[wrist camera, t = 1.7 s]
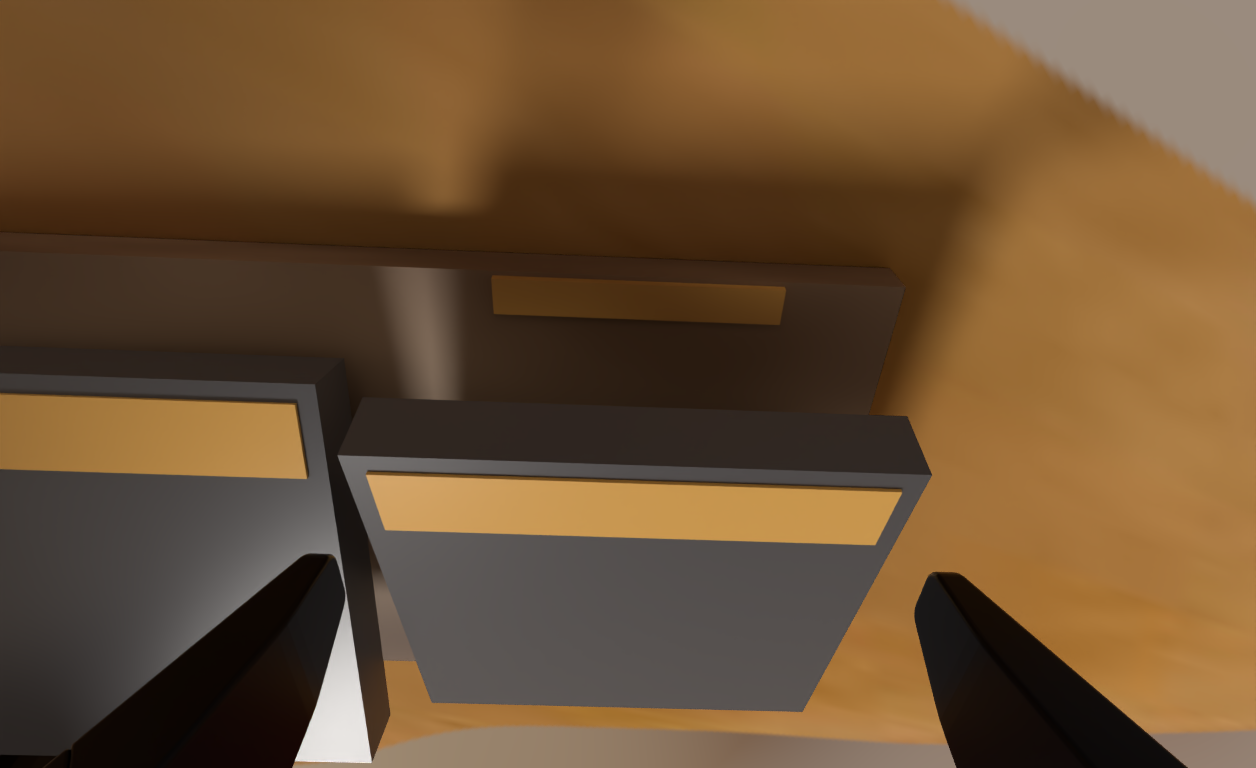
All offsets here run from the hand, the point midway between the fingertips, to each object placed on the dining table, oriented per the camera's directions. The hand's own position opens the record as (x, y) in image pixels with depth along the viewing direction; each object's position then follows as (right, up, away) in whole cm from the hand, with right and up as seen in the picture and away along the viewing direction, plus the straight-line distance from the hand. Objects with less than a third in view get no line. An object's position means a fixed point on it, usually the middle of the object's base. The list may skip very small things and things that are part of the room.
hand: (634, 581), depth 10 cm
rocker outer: (0, -2, +5) cm, 5 cm away
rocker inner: (-11, -1, +5) cm, 12 cm away
